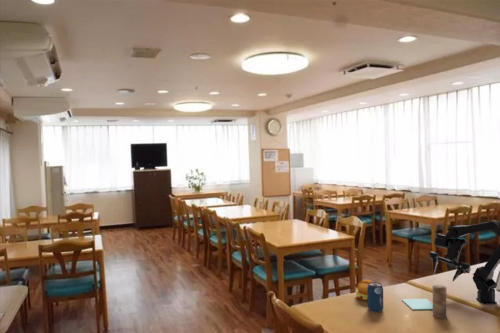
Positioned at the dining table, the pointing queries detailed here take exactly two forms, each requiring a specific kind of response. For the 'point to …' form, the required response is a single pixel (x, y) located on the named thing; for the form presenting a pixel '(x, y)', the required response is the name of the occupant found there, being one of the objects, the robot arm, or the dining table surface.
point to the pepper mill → (439, 301)
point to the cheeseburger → (362, 290)
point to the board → (418, 304)
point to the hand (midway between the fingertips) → (443, 277)
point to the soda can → (375, 296)
